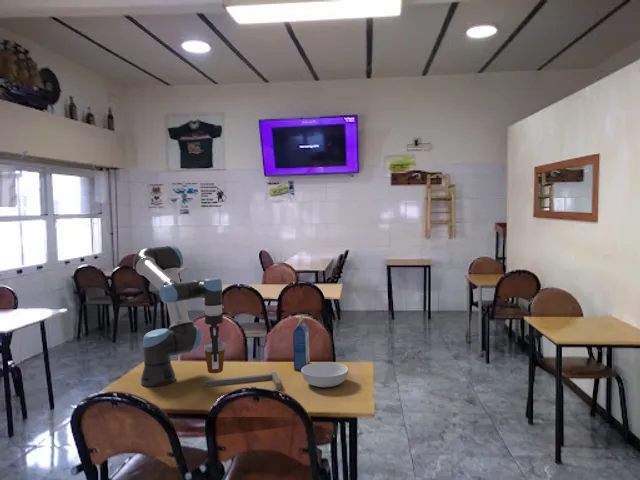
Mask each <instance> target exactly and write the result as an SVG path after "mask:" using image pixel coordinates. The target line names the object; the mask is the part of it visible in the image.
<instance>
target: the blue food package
mask: <svg viewBox="0 0 640 480" xmlns="http://www.w3.org/2000/svg"><path fill="white" fill-rule="evenodd" d="M292 338H293V339H292V342H293V343H292V344H293V370H294V371H301V369H302V368H303V367H304V366H306V365H308V364H311V361H310V359H311V357H310V328H309V326H308V323H307V322H306V321H305V320H304V317H303V313H302V314H301V316H300V317H299V318H298V324H297V326H296V327H295V329H294V330H293V334H292Z"/></svg>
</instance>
